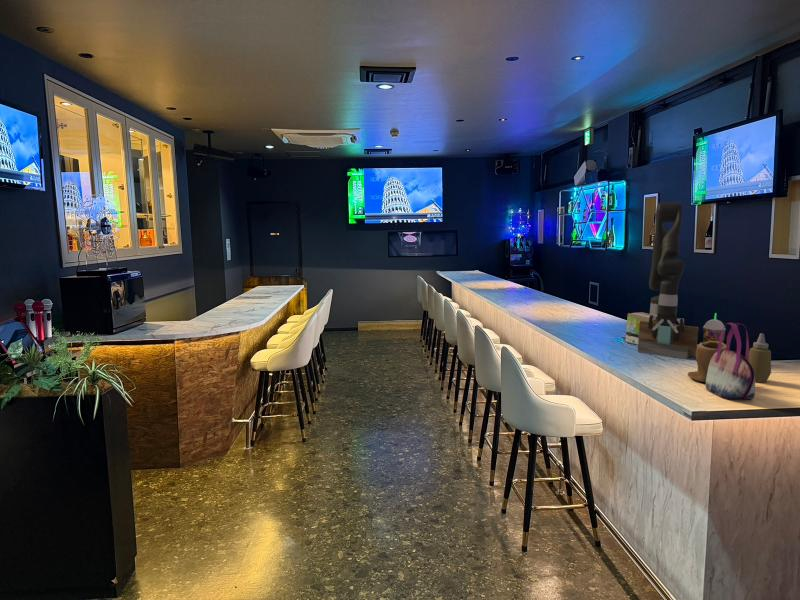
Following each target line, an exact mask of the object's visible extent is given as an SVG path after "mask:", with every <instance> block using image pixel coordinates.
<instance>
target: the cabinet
mask: <svg viewBox="0 0 800 600" xmlns="http://www.w3.org/2000/svg"><path fill="white" fill-rule="evenodd" d="M672 339H673V329H672V327H670V326H661V325H659V326H658V339H657V343H663V344H670V345H672Z"/></svg>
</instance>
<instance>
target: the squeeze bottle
mask: <svg viewBox="0 0 800 600" xmlns="http://www.w3.org/2000/svg"><path fill="white" fill-rule="evenodd" d="M749 363H750V364H751V365H752V367H753V370H754V373H755V383H767V382H768V379H769V377H770V376H771V374H772V351H771V350H770V349H769V343H767V342H766V338H765V334H764V333H759V336H758V338H757V340H756V341H754V342H753V344H752V347H751V348H749Z"/></svg>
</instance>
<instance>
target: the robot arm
mask: <svg viewBox="0 0 800 600" xmlns="http://www.w3.org/2000/svg"><path fill="white" fill-rule="evenodd" d="M683 210H684V209H683V205H682V203H680V202H673V201H672V202H660V203H658V204H657V206H656V208H655V224H654V225H655V227H654V228H655V229H654V230H655V231H654V232H655V233H654V237H653V238H654V240H653V245H652V246H653V247H652V257H651V268H650V275H649V278H648V279H649V281H648V287H649V289H650V290H651V291H659V295H656V296H652V297H651V298H650V307H649V314H653V315H657V316H653V315H651V316H650V317H649V324H648V328H649V329H652V337H653V338H654V339H656V334H657V330H656V329H657V328H658V326H659V325H661V326H670V327H672V329H673V330H674V331H675V336H674V341H677V340H678V339H679V333H680V332H683V331H684V326H685V318H683V317H681V318H678V317H677V313H678V299H679V298H678V291H679V284H680V282H681V281H680V280H681V279H682V278H681V277H682V275H683V274H684V270H685V267H686V266H685V262H684V261H683V260H682V259H676V258H679V256H680V238H681V231H682V230H681V229H682V223H683V222H682V221H683V214H684V213H683ZM664 223H673V225H672V226H671V228H670V229H669V230H668V231H667V230H666V228H665V225H664ZM655 319H657V321H658V323H657V324H656V325H655V326H654V327H653V326H652V325H653V320H655ZM676 322H678V324H679V325H680V329H678V328H677V326H676V325H677V324H676Z"/></svg>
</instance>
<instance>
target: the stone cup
mask: <svg viewBox="0 0 800 600" xmlns="http://www.w3.org/2000/svg"><path fill="white" fill-rule="evenodd" d="M718 344H719V342H717V341H707V342H703V341H702V342H699V344H698V343H697V349H696V357H695V360H696V364H697V365H696V366H697V371H689V372H687V377H689V378H690V379H692V380H695V381H697V382H702V383H703V382H704V383H706V377H707V372H708V367H709V363H710V360H711V358H712V356H713V355H714V354H715V353H716V352H717V351H718ZM721 350H726V344H725V343H724V342H723V343H721Z"/></svg>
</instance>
